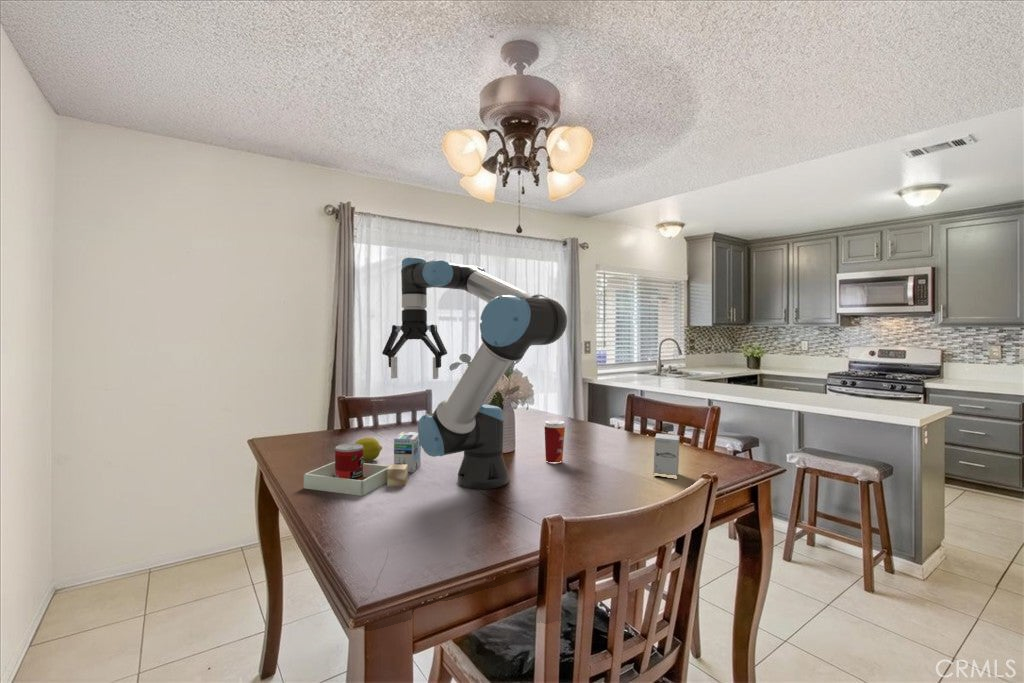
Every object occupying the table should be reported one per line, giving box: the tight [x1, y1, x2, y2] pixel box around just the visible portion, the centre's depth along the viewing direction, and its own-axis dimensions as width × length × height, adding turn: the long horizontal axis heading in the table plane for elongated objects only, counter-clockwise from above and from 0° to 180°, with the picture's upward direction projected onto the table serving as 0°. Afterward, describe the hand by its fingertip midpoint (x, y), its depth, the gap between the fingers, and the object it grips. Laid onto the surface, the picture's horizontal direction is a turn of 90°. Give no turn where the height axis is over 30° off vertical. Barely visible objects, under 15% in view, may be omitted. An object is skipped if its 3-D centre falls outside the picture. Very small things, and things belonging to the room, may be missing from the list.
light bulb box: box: [393, 431, 422, 473], centre depth 158 cm, size 11×7×11 cm, turn 179°
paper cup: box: [543, 419, 566, 462], centre depth 167 cm, size 8×8×14 cm
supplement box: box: [653, 433, 681, 476], centre depth 154 cm, size 7×7×13 cm
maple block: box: [386, 463, 409, 487], centre depth 142 cm, size 5×5×5 cm
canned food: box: [334, 443, 364, 480], centre depth 141 cm, size 8×8×11 cm
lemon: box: [353, 437, 383, 462], centre depth 165 cm, size 11×8×8 cm
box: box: [303, 461, 390, 497], centre depth 141 cm, size 19×15×4 cm
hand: (414, 378), depth 148 cm, fingers open, 13 cm apart
